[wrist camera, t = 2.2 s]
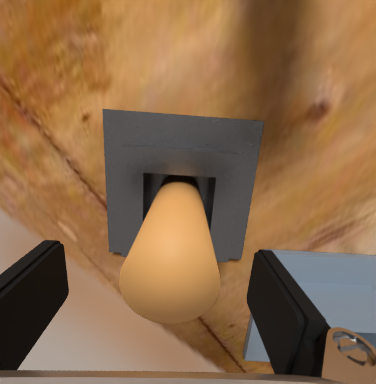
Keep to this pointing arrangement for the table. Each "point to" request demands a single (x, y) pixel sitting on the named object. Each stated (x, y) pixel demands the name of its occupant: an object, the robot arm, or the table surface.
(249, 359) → the socket block
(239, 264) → the table surface
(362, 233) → the table surface
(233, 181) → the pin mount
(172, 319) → the lock pin
